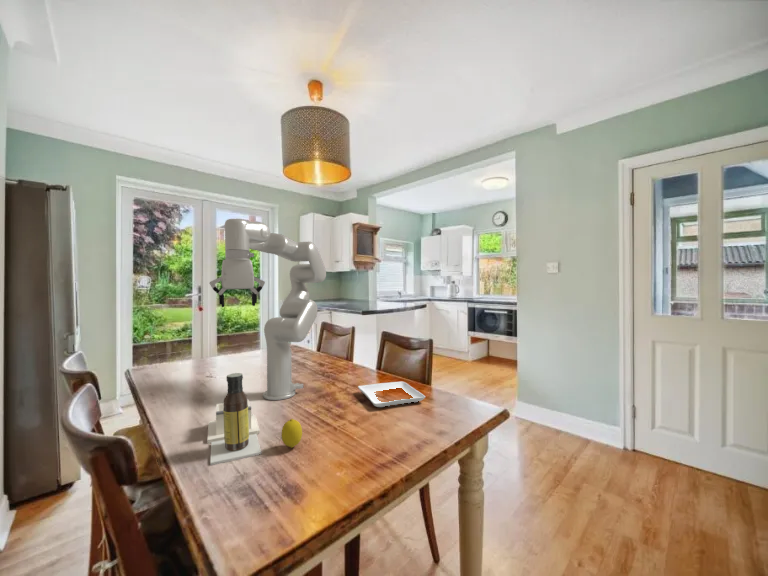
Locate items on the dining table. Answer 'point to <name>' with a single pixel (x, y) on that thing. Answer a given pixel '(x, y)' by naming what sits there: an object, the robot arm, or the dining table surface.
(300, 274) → the robot arm
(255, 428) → the caddy
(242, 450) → the mat
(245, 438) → the sauce bottle
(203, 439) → the dining table surface
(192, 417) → the dining table surface
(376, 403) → the salad plate
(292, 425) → the lemon
